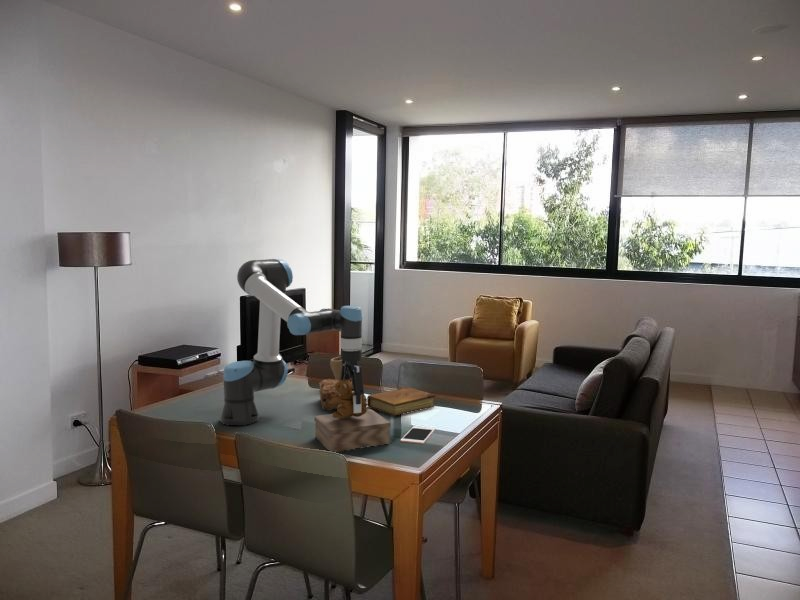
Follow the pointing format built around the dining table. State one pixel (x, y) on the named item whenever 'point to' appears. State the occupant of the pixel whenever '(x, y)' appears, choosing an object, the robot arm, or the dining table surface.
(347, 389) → the stuffed squirrel
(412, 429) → the cell phone
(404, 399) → the diary
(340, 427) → the walnut box
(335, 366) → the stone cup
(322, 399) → the bread
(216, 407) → the dining table surface
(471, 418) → the dining table surface
